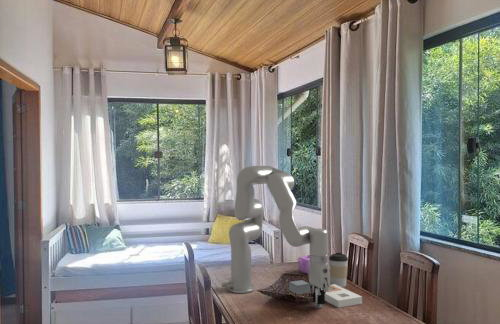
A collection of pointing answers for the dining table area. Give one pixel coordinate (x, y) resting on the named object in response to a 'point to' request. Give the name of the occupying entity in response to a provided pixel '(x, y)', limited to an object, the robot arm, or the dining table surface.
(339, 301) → the board
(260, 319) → the dining table surface
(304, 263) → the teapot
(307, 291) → the cover
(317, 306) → the pin
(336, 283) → the coffee cup
